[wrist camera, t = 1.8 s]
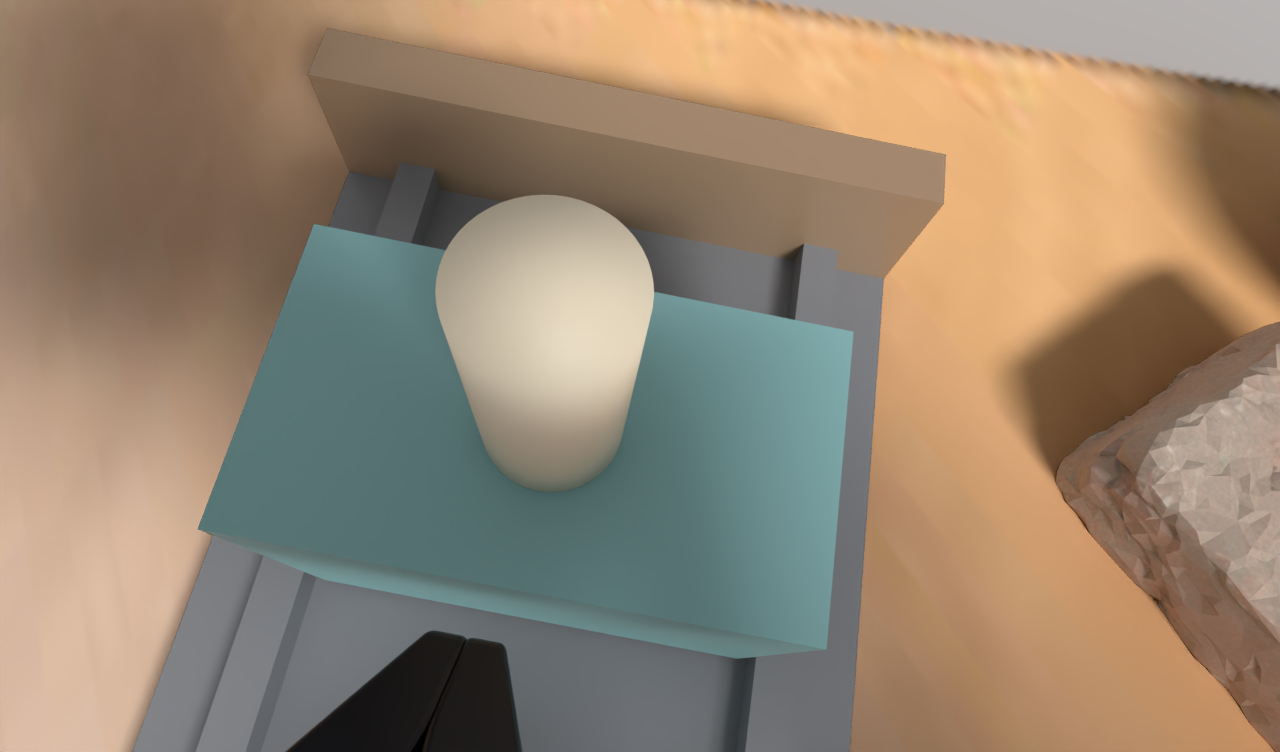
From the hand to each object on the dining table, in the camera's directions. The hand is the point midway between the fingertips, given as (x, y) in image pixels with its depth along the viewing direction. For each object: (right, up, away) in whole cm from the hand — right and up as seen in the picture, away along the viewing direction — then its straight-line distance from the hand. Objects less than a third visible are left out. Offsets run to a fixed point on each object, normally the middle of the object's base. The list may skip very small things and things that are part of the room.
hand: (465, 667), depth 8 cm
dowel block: (0, 0, +12) cm, 12 cm away
